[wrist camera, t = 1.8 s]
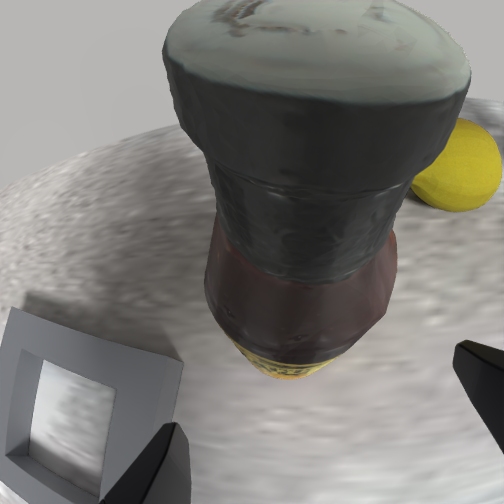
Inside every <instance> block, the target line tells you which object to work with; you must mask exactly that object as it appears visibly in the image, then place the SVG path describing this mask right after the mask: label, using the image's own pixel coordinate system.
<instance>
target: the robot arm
mask: <svg viewBox="0 0 504 504" xmlns="http://www.w3.org/2000/svg"><path fill="white" fill-rule="evenodd" d="M453 368H454V371H455V372H456V374H457V376H458V378H459V380H460V382H461V384H462V386H463V387H464V389H465V391H466V393H467V395H468V397H469V399H470V401H471V403H472V404H473V406H474V407H475V409H476V410H477V412H478V413H479V415H480V417H481V418H482V420H483V421H484V423H485V424H486V426H487V428H488V429H489V431H490V432H491V434H492V436H493V437H494V439H495V440H496V442H497V444H498V445H499V447H500V449H501V450H502V452H503V454H504V351H503V350H499V349H496V348H493V347H489V346H486V345H483V344H480V343H476V342H473V341H470V340H464V341H462V342H460V343H458V344H457V345H456V346H455V352H454V357H453ZM98 504H191V472H190V457H189V443H188V439H187V437H186V435H185V434H184V432H183V430H182V429H181V427H180V425H179V424H178V423H177V422H171V423H164V424H163V425H162V426H161V428H160V429H159V430H158V431H157V433H156V434H155V435H154V436H153V438H152V439H151V440H150V441H149V443H148V444H147V445H146V446H145V448H144V449H143V450H142V451H141V453H140V454H139V455H138V456H137V458H136V459H135V460H134V461H133V462H132V464H131V465H130V466H129V467H128V469H127V470H126V471H125V472H124V473H123V475H122V476H121V477H120V478H119V479H118V481H117V482H116V483H115V484H114V485H113V487H112V488H111V489H110V490H109V491H108V493H107V494H106V495H105V496H104V499H102V500H101V501H100V502H99V503H98Z"/></svg>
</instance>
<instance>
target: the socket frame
mask: <svg viewBox="0 0 504 504" xmlns="http://www.w3.org/2000/svg"><path fill="white" fill-rule="evenodd" d="M43 359H44V360H46V361H48V362H51V363H53V364H55V365H57V366H59V367H62V368H64V369H66V370H69V371H71V372H73V373H76V374H78V375H81V376H83V377H85V378H88V379H90V380H93V381H96V382H98V383H101V384H104V385H106V386H109V387H112V388H114V389H117V392H116V397H115V402H114V407H113V412H112V417H111V422H110V428H109V434H108V440H107V446H106V452H105V459H104V465H103V473H102V480H101V489H100V497H99V498H98V497H96V496H94V495H92V494H90V493H88V492H86V491H84V490H82V489H81V488H79V487H77V486H75V485H73V484H72V483H70V482H68V481H66V480H65V479H63V478H61V477H60V476H58V475H56V474H55V473H53V472H52V471H50V470H49V469H47V468H45V467H44V466H42V465H41V464H39V463H38V462H36V461H35V460H33V459H32V458H31V457H29V456H28V448H29V438H30V430H31V423H32V416H33V409H34V403H35V398H36V392H37V387H38V382H39V377H40V372H41V368H42V363H43ZM183 364H184V363H183V362H180V361H178V360H175V359H173V358H171V357H168V356H164V355H160V354H156V353H152V352H148V351H144V350H141V349H137V348H133V347H129V346H126V345H122V344H119V343H115V342H112V341H108V340H105V339H102V338H99V337H95V336H92V335H89V334H86V333H83V332H80V331H77V330H74V329H71V328H68V327H65V326H62V325H59V324H56V323H54V322H51V321H48V320H45V319H43V318H40V317H37V316H35V315H32V314H30V313H27V312H25V311H22V310H20V309H17V308H15V307H11V310H10V314H9V317H8V321H7V324H6V328H5V331H4V335H3V339H2V343H1V347H0V480H1V481H2V482H3V483H4V484H5V485H6V486H8V487H9V488H10V489H11V490H12V491H14V492H15V493H16V494H17V495H19V496H20V497H21V498H22V499H24V500H25V501H26V502H28V503H29V504H98V503H99V502H100V501H101V500H102V499H104V496H105V495H106V494H107V493H108V491H109V490H110V489H111V488H112V487H113V485H114V484H115V483H116V482H117V481H118V479H119V478H120V477H121V476H122V475H123V473H124V472H125V471H126V470H127V469H128V467H129V466H130V465H131V464H132V462H133V461H134V460H135V459H136V458H137V456H138V455H139V454H140V453H141V451H142V450H143V449H144V448H145V446H146V445H147V444H148V443H149V441H150V440H151V439H152V438H153V436H154V435H155V434H156V433H157V431H158V430H159V429H160V428H161V426H162V425H163V424H164V423H171V422H172V417H173V412H174V407H175V402H176V397H177V392H178V387H179V383H180V378H181V373H182V368H183Z"/></svg>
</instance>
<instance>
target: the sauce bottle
mask: <svg viewBox="0 0 504 504" xmlns="http://www.w3.org/2000/svg"><path fill="white" fill-rule="evenodd" d="M162 55H163V62H164V65H165V68H166V71H167V79H168V81H169V84H170V92H171V95H172V97H173V103H174V109H175V112H176V114H177V117H178V119H179V123H180V126H181V128H182V129H183V130H184V131H185V132H186V133H187V135H188V136H189V137H190V139H191V140H192V141H193V143H194V144H195V145H196V146H197V147H198V148H199V149H200V150H201V151H202V152H203V153H204V155H205V158H206V162H207V164H208V170H209V174H210V178H211V184H212V186H213V187H214V189H215V195H216V199H217V203H216V209H217V213H216V218H215V223H214V228H213V234H212V239H211V245H210V250H209V256H208V262H207V267H206V271H205V279H204V287H205V295H206V299H207V302H208V305H209V308H210V310H211V312H212V314H213V316H214V318H215V320H216V321H217V323H218V324H219V326H220V327H221V328H222V330H223V331H224V332H225V334H226V335H227V336H228V337H229V338H230V339H231V340H232V341H233V343H234V344H235V346H236V347H237V348H238V349H239V350H240V351H241V353H242V354H243V355H244V356H245V357H246V358H247V359H248V360H249V361H250V362H251V363H252V364H253V365H254V366H255V367H256V368H257V369H259V370H260V371H261V372H263V373H265V374H267V375H269V376H271V377H274V378H279V379H297V378H302V377H306V376H308V375H310V374H312V373H314V372H316V371H317V370H319V369H320V368H322V367H323V366H325V365H327V364H328V363H330V362H332V361H333V360H334V359H336V358H337V357H339V356H340V355H341V354H343V353H344V352H346V351H347V350H348V349H349V348H350V347H352V346H353V345H354V344H355V343H356V342H357V341H358V340H359V339H360V338H361V337H362V336H363V335H364V334H365V333H366V332H367V331H368V330H369V329H370V328H371V327H372V326H373V325H374V324H375V323H376V322H378V321H379V320H380V319H381V318H382V317H383V316H384V315H385V313H386V310H387V307H388V304H389V300H390V297H391V293H392V290H393V287H394V283H395V278H396V273H397V243H396V237H395V234H394V231H393V229H392V228H393V225H394V220H395V217H396V213H397V211H398V210H399V208H400V207H401V205H402V202H403V200H404V198H405V196H406V194H407V192H408V190H409V188H410V186H411V184H412V182H413V180H414V178H415V176H416V175H418V174H419V173H420V172H422V171H423V170H425V169H426V168H427V167H429V166H430V165H431V164H432V163H433V162H434V161H435V159H436V158H437V157H438V156H439V155H440V153H441V152H442V151H443V150H444V149H445V146H446V144H447V142H448V140H449V137H450V135H451V133H452V131H453V130H454V128H455V125H456V122H457V118H458V115H459V113H460V110H461V108H462V105H463V102H464V99H465V97H466V94H467V92H468V89H469V86H470V82H471V67H470V63H469V61H468V59H467V57H466V55H465V53H464V51H463V48H462V47H461V46H460V45H459V44H458V43H457V42H456V41H455V40H454V39H453V38H452V37H451V35H450V34H449V33H448V32H447V31H446V30H445V29H444V28H442V27H441V26H440V25H439V24H437V23H436V22H435V21H433V20H432V19H430V18H429V17H427V16H425V15H424V14H422V13H420V12H418V11H416V10H414V9H412V8H411V7H408V6H406V5H404V4H402V3H400V2H397V1H395V0H202V1H200V2H198V3H196V4H195V5H193V6H192V7H191V8H189V9H186V10H184V11H183V12H182V13H181V14H180V15H179V16H178V17H177V19H176V20H175V22H174V23H173V24H172V26H171V27H170V28H169V30H168V33H167V36H166V39H165V42H164V45H163V49H162Z"/></svg>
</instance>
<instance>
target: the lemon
mask: <svg viewBox="0 0 504 504" xmlns="http://www.w3.org/2000/svg"><path fill="white" fill-rule="evenodd" d="M501 177H502V162H501V156H500V153H499V150H498V147H497V144H496V142H495V141H494V139H493V138H492V136H491V135H490V134H489V133H488V132H487V131H486V130H484V129H483V128H482V127H481V126H479V125H477V124H475V123H473V122H471V121H469V120H465V119H461V118H457V122H456V125H455V128H454V130H453V131H452V133H451V135H450V137H449V140H448V142H447V144H446V146H445V149H444V150H443V151H442V152H441V153H440V155H439V156H438V157H437V158H436V159H435V161H434V162H433V163H432V164H431V165H430V166H429V167H427V168H426V169H425V170H423V171H422V172H420V173H419V174H418V175H416V176H415V178H414V180H413V182H412V184H411V186H410V187H411V188H412V190H413V191H414V193H415V194H416V195H417V196H418V197H419V198H421V199H422V200H423V201H424V202H426V203H427V204H429V205H430V206H432V207H434V208H437V209H441V210H445V211H449V212H463V211H469V210H473V209H476V208H479V207H480V206H482V205H484V204H485V203H486V202H487V201H488V200H489V199H490V198H491V197H492V196H493V194H494V193H495V192H496V190H497V189H498V187H499V185H500V182H501Z"/></svg>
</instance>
